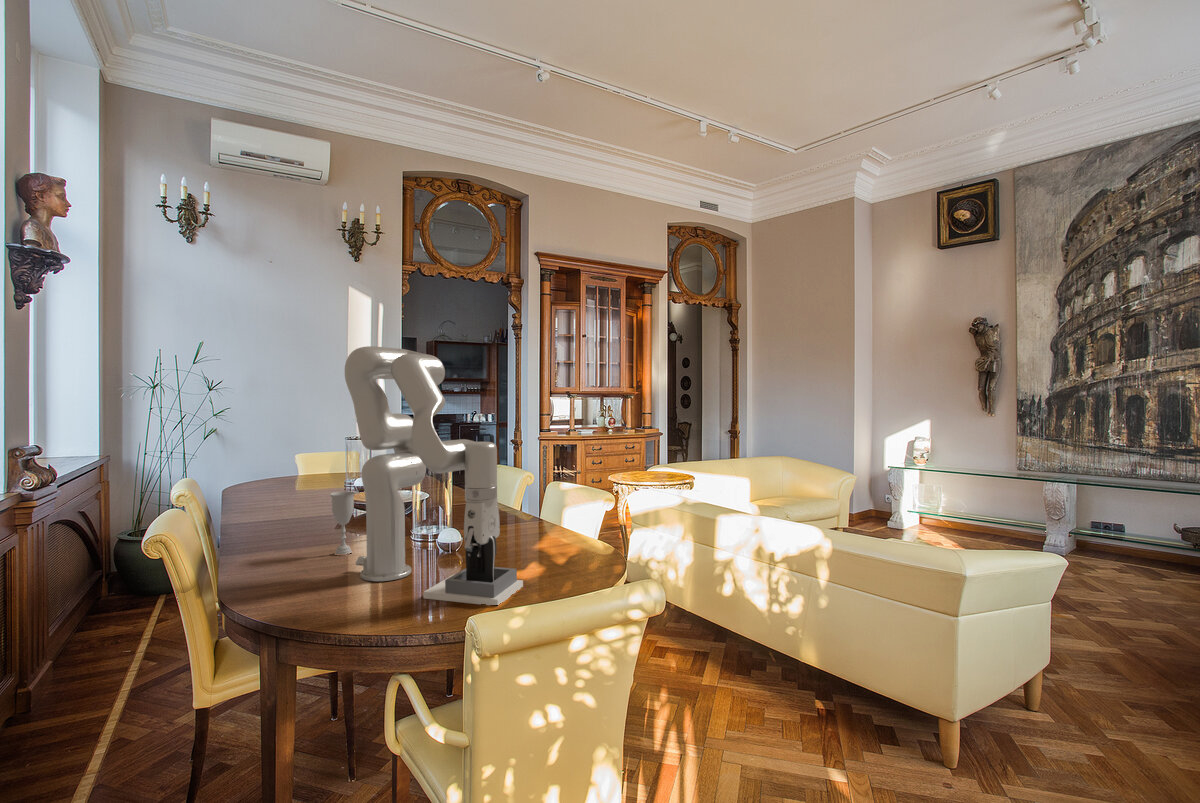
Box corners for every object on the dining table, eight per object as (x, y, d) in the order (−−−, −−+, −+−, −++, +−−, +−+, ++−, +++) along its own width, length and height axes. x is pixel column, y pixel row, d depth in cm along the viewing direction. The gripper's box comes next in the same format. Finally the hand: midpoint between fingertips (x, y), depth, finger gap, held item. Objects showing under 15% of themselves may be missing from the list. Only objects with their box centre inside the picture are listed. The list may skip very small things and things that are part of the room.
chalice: (361, 552, 178) (360, 492, 178) (340, 558, 173) (339, 496, 172) (346, 549, 182) (345, 490, 182) (325, 554, 177) (324, 493, 176)
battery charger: (498, 579, 144) (498, 532, 144) (492, 584, 140) (492, 536, 140) (470, 577, 145) (470, 531, 145) (464, 582, 141) (464, 534, 141)
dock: (423, 598, 139) (423, 579, 139) (454, 579, 153) (454, 562, 152) (497, 606, 134) (497, 586, 134) (522, 586, 147) (522, 568, 147)
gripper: (478, 501, 133) (478, 582, 133) (510, 488, 149) (510, 561, 150) (448, 499, 135) (449, 579, 136) (483, 487, 151) (483, 559, 152)
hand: (481, 569), depth 143 cm, fingers closed on battery charger, 4 cm apart
